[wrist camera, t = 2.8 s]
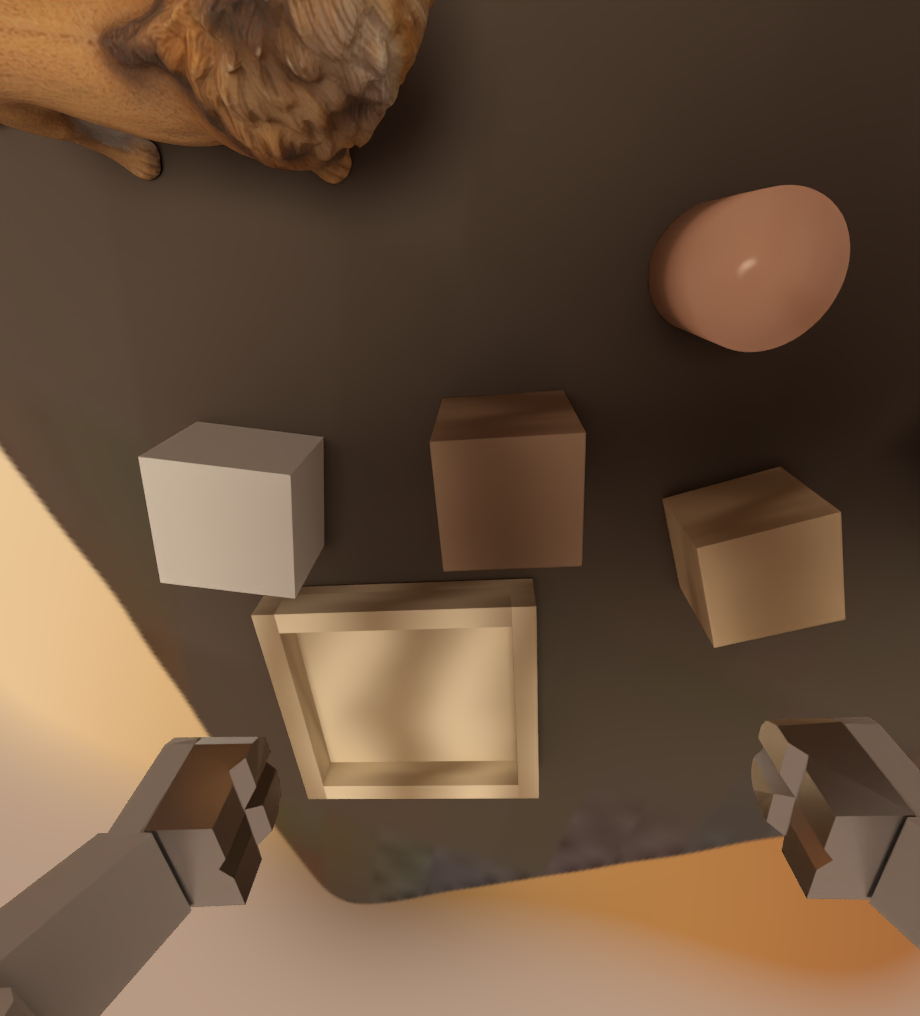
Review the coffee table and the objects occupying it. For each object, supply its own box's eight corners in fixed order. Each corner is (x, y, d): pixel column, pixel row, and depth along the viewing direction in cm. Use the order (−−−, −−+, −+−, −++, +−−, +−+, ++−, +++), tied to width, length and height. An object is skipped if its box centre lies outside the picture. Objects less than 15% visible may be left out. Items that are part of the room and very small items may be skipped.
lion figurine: (446, -51, 14) (393, -448, 6) (462, 179, 16) (438, 113, 8) (-51, 16, 15) (-650, -241, 7) (29, 223, 18) (-354, 201, 10)
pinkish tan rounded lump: (784, 192, 16) (868, 177, 13) (761, 327, 18) (829, 346, 14) (653, 204, 17) (699, 192, 13) (643, 335, 18) (681, 356, 15)
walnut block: (563, 389, 19) (585, 432, 15) (561, 499, 21) (581, 565, 17) (442, 397, 20) (429, 441, 15) (452, 504, 22) (443, 571, 17)
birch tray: (532, 578, 23) (536, 606, 21) (535, 763, 28) (538, 798, 26) (268, 587, 24) (251, 615, 22) (319, 765, 29) (308, 798, 27)
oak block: (778, 465, 20) (840, 511, 17) (787, 559, 22) (845, 619, 19) (661, 497, 21) (696, 548, 18) (679, 585, 23) (714, 647, 19)
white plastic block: (324, 436, 21) (290, 475, 17) (325, 543, 23) (295, 598, 19) (198, 420, 21) (138, 456, 17) (211, 530, 23) (160, 582, 19)
